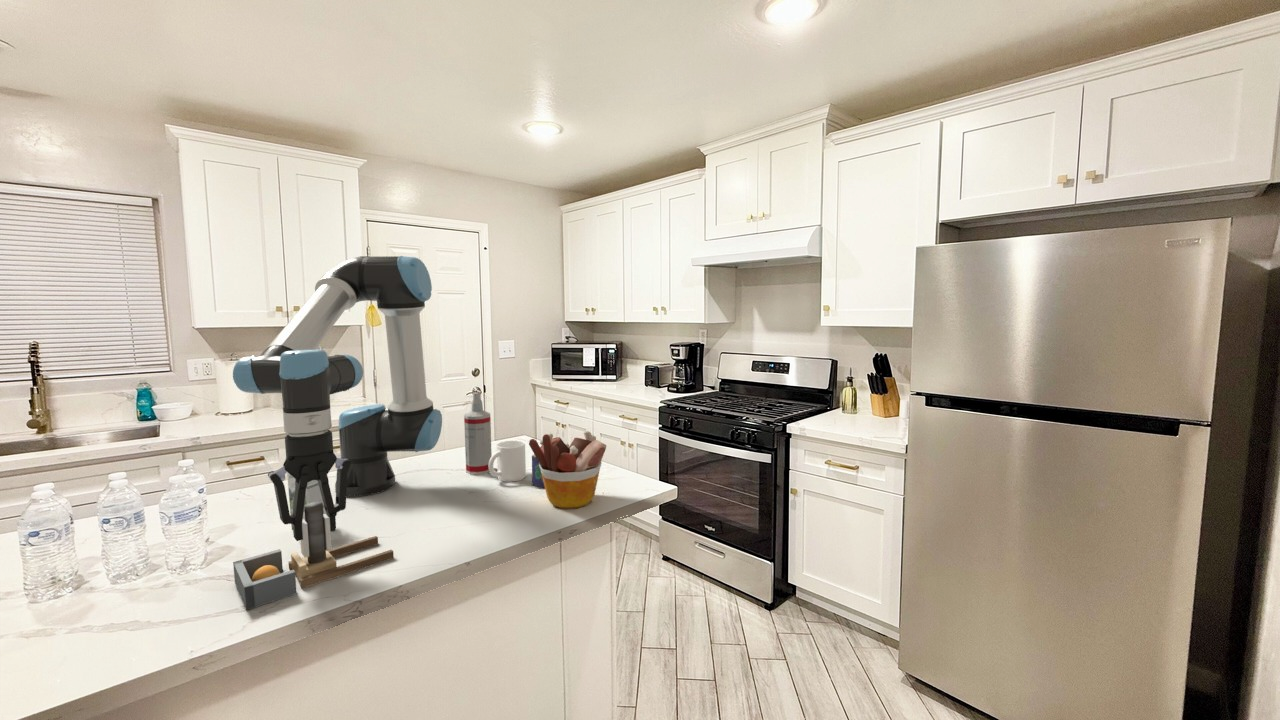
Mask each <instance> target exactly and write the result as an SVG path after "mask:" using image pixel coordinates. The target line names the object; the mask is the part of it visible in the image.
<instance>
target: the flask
mask: <svg viewBox="0 0 1280 720" xmlns="http://www.w3.org/2000/svg"><path fill="white" fill-rule="evenodd" d="M531 487H532V488H537V489H542V490H545V486H544V482H543V478H542V474H541V469H540V467H539V461H538V460H537V458H536V456H535V454H534V453H533V454H532V455H531Z"/></svg>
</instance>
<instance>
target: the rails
mask: <svg viewBox="0 0 1280 720" xmlns="http://www.w3.org/2000/svg"><path fill="white" fill-rule="evenodd" d="M378 544H379V537H378V536H377V535H375V536H372V537H368V538H364V539H361V540H359V541H358V540H357V541H354V542H351V543H348V544H344V545H341V546H338V547H333V548H332V550H330V551H328V552H329V553H330V554H331V555H332V556H333V558H334V559H335V558H337V557H340V556H343V555H347V554H351V553H354V552H356V551H360V550H364V549H367V548H370V547H373V546H375V545H378ZM394 555H395V554H394V550H393V549H389V550H385V551H382V552H379V553H376V554H373V555H371V556H370V555H369V556H367V557H363V558H360V559H358V560H357V559H356V560H353V561H352V562H348V563H345V564H342V565H338V566H337V567H335V568H332V569H329V570H326V571H322V572H319V573H316V574H313V575H310V576H307V577H304V578H300V581H299V587H300V589H306V588H308V587H311V586H314V585H316V584H319V583H323V582H326V581H328V580H332V579H334V578H338V577H341V576H344V575H347V574H350V573H353V572H356V571H359V570H362V569H364V568H365V567H366V568H368V567H371V565H372V566H374V565H377V564H381V563H384V562H386V561H389V560H392V559H394ZM302 558H304V556H302ZM366 568H365V569H366ZM288 569H289V571H291V570H292V561H291V560H290V561H288Z"/></svg>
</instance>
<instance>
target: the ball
mask: <svg viewBox="0 0 1280 720" xmlns="http://www.w3.org/2000/svg"><path fill="white" fill-rule="evenodd" d="M277 574H280V572H279V570H278V569H277V568H276V567H275V566H272V565H266V566H263V567H261V568H259V569H258V570H257V571H256V572H255V573H254V575H253V578H252V580H251V581H252V582H255V581H258V580H261V579H264V578H268V577H271V576H274V575H277Z"/></svg>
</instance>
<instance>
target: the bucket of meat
mask: <svg viewBox="0 0 1280 720" xmlns="http://www.w3.org/2000/svg"><path fill="white" fill-rule="evenodd" d="M583 435H584V438H582V437H574V439H573V440H572V442H571V443H570V444H569V443H568V442H567V443H565V442H564V440H563V439H562V438H561V437H560V436H559V437H558V436H556V437H554V434H553V433H551V432H550V433H547V434H546V433H545V434H543V435H542V439H541V440H539V443H538V441H537V439H534V438H531V439H529V443H528V445H529V447H530V449H531V451H532V453H533V455H534V454H535V456H536V458H537V460H538V461H539V467H540V469H541V474H542V478H543V482H544V486H545V489H544V490H545V494H546V497H547V500H548V501H549V503H550V504H551V505H552V506H553V507H555V508H559V509H563V510H565V509H566V510H567V509H568V510H569V509H570V510H571V509H579V508H582V507H585V506H587V505H588V504H589V503H590V502H591V501H592V500H593V498H595V493H596V491H597V490H596V489H597V484H598V481H599V475H600V470H601V467H602V461H603V459H604V458H603V457H604V454H605V452H606V450H607V444H605V443H603V442H601V441H600V440H598V439H597V437H596V436H595V435H594V434H592V432H591V431H588V430H587V431H584V432H583ZM539 444H540V445H541V446H540V445H539Z"/></svg>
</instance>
